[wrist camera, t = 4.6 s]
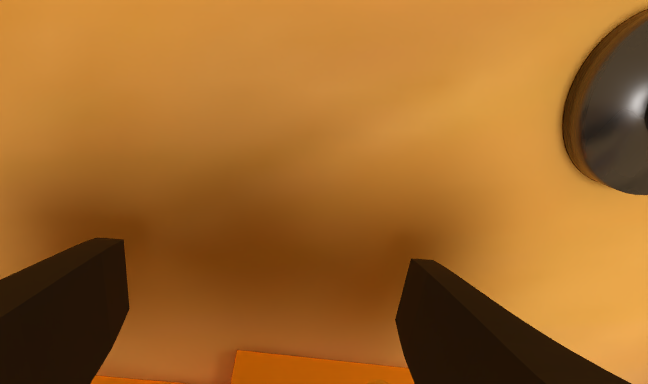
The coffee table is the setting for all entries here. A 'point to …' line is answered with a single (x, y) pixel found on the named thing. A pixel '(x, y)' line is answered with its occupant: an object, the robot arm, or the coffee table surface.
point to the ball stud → (612, 110)
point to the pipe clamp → (294, 372)
